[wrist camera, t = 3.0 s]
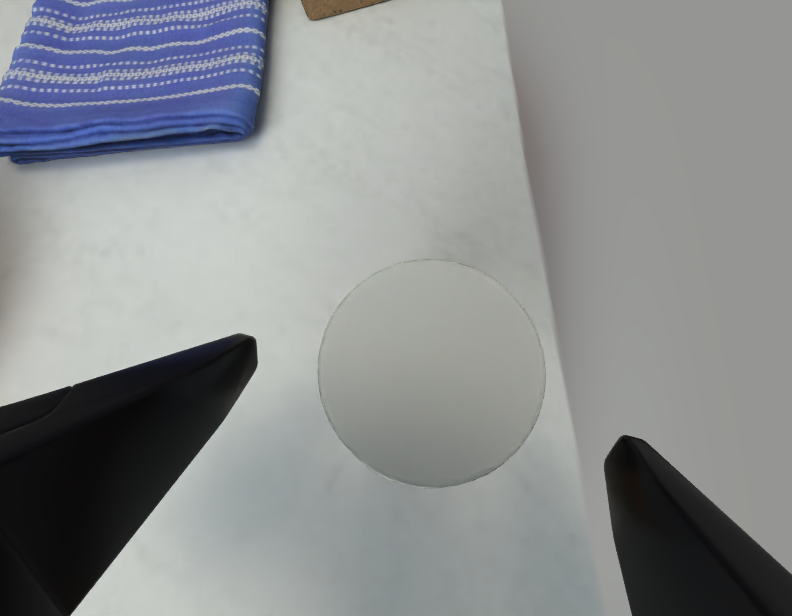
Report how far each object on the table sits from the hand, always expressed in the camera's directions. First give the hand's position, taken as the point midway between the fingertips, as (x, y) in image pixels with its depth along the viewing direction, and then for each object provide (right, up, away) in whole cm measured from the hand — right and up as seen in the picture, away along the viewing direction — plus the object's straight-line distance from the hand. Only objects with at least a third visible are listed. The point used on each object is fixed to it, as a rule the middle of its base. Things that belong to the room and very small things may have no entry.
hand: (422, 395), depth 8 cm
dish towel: (-18, +22, +17) cm, 33 cm away
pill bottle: (+1, -2, +8) cm, 8 cm away
